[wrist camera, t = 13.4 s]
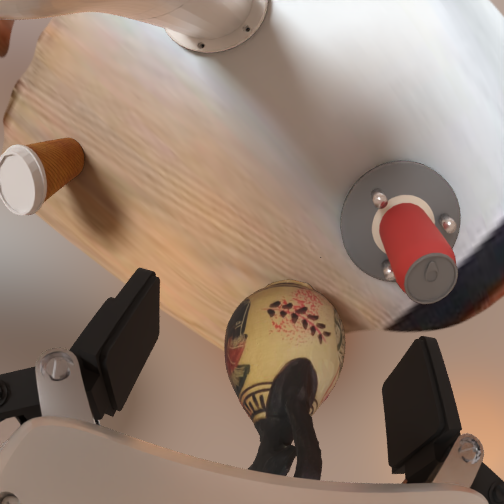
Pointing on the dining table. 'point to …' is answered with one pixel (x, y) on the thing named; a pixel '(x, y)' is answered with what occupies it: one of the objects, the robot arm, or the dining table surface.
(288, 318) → the ceramic jug
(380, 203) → the steel pins
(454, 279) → the beer can
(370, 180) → the pin plate
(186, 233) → the dining table surface
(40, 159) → the disposable coffee cup
